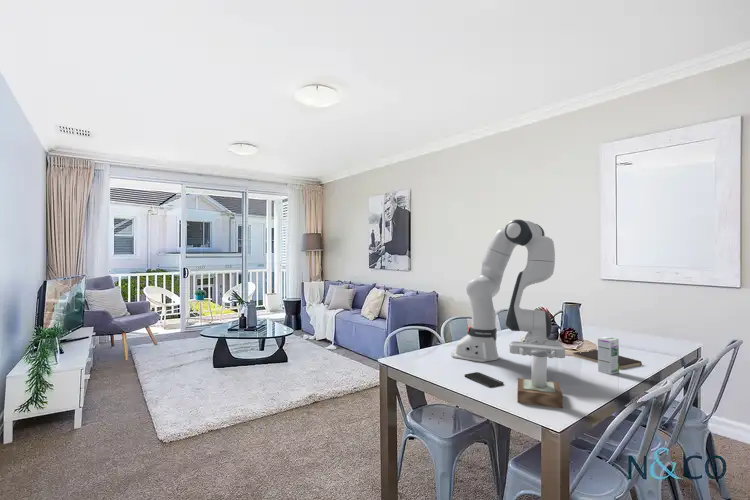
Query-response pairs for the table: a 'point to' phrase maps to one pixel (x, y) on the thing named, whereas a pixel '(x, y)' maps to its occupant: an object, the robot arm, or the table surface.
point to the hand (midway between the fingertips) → (537, 354)
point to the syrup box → (608, 355)
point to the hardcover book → (593, 357)
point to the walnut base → (539, 394)
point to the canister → (539, 368)
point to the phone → (484, 379)
